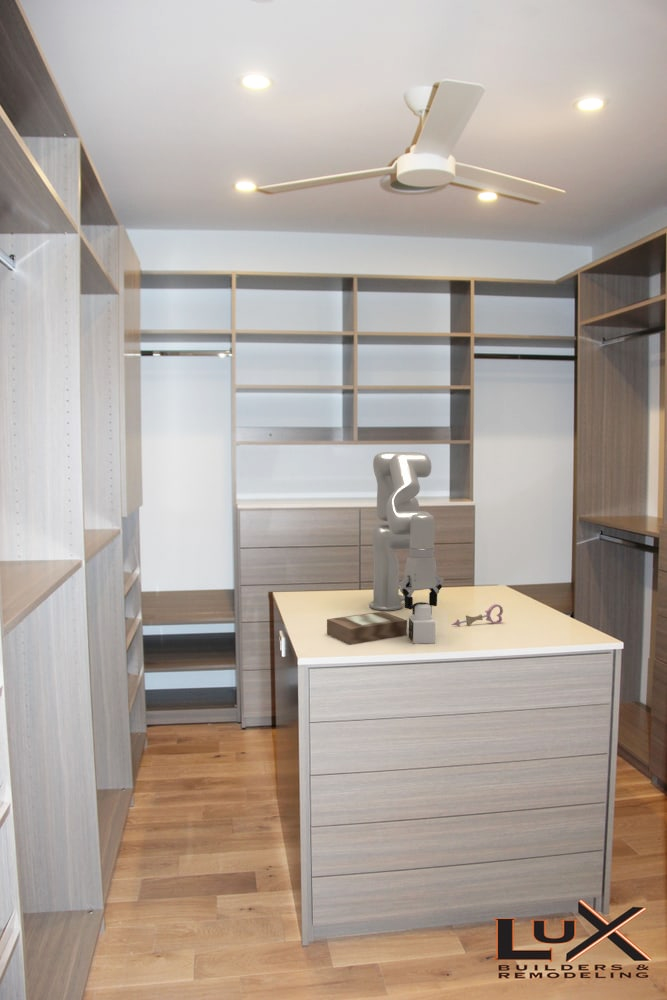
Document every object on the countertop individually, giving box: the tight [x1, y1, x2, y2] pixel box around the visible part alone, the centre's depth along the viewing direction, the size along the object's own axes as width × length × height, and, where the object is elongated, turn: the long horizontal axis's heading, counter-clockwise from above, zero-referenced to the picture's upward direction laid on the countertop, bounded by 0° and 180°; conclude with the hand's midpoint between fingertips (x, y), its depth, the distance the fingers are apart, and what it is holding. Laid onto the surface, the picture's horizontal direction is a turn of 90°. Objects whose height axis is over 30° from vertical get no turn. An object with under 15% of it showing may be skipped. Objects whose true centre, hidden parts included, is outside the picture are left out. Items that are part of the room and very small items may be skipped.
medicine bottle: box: [408, 601, 436, 645], centre depth 235 cm, size 7×7×12 cm
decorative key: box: [451, 603, 504, 627], centre depth 256 cm, size 7×1×20 cm
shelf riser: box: [326, 610, 408, 645], centre depth 242 cm, size 22×14×5 cm, turn 121°
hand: (420, 607), depth 234 cm, fingers open, 9 cm apart
